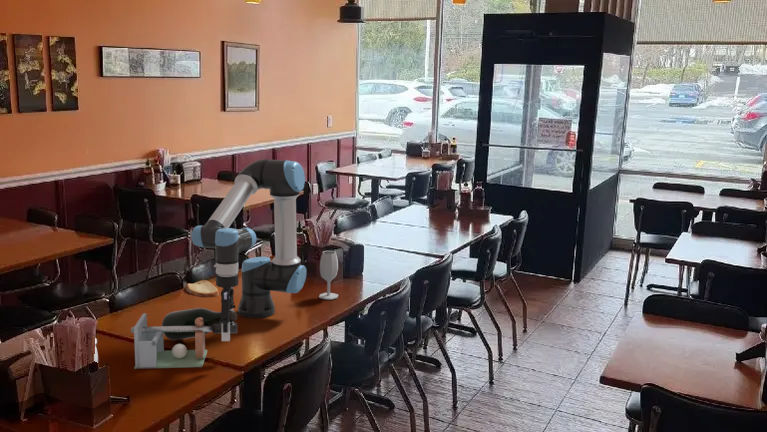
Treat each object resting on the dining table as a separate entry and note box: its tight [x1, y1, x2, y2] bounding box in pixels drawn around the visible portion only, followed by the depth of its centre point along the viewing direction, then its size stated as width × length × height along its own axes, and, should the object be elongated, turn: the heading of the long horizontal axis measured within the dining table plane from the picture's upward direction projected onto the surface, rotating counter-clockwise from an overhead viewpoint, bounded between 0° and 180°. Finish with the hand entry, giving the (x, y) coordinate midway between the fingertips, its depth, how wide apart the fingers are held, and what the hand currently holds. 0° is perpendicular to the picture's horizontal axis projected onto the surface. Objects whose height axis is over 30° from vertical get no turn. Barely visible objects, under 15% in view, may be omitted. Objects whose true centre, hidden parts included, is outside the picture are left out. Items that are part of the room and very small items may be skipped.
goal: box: [133, 312, 165, 369], centre depth 233 cm, size 7×14×14 cm, turn 7°
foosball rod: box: [130, 317, 238, 358], centre depth 234 cm, size 35×6×14 cm, turn 97°
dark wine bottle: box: [161, 307, 238, 341], centre depth 244 cm, size 10×10×33 cm
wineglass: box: [318, 250, 339, 301], centre depth 305 cm, size 9×9×21 cm
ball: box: [171, 343, 188, 359], centre depth 235 cm, size 5×5×5 cm
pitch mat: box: [134, 349, 208, 370], centre depth 235 cm, size 22×14×1 cm, turn 97°
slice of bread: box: [185, 279, 221, 298], centre depth 312 cm, size 18×18×4 cm
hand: (227, 333), depth 235 cm, fingers open, 13 cm apart
